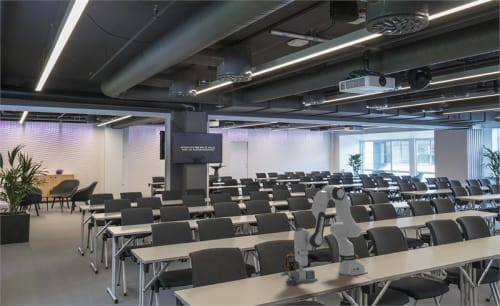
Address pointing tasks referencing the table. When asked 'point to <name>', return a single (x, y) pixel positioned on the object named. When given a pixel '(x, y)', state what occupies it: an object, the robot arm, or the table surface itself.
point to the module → (301, 274)
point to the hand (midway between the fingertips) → (301, 269)
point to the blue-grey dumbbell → (309, 276)
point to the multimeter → (290, 262)
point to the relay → (292, 281)
